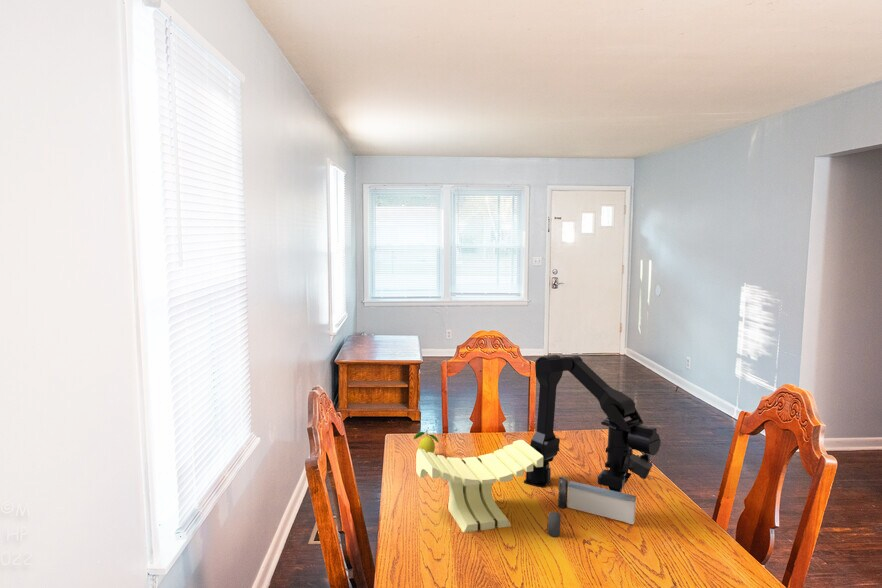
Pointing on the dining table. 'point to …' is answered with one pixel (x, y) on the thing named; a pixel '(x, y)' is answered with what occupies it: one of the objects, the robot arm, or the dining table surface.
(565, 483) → the gate post
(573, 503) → the gate
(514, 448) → the slatted curved stool
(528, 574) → the dining table surface
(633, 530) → the dining table surface
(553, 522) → the gate stop
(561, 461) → the dining table surface
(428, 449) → the lemon
